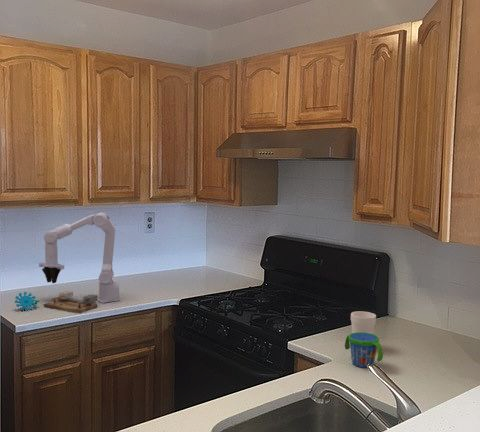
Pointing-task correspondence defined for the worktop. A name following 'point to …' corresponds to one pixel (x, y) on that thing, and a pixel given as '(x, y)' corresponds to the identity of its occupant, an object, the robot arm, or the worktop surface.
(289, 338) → the worktop surface
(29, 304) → the gear
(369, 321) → the foam cup
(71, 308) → the hole board
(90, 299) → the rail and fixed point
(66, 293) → the slider
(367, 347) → the snack cup
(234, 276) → the worktop surface
